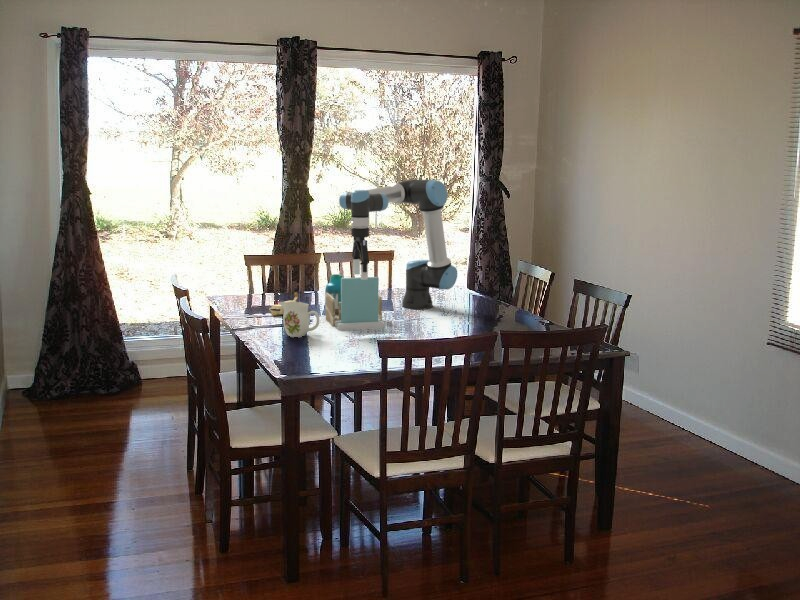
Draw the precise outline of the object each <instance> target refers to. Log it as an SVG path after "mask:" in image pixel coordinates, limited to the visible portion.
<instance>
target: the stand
mask: <svg viewBox="0 0 800 600" xmlns="http://www.w3.org/2000/svg"><path fill="white" fill-rule="evenodd" d="M334 327H335V328H337V330H338V331H349V330H351V331H352V330H353V331H354V330H369V329H370V330H371V329H385V322H384V320H382V321H381V319H378V321H376V322H355V323H341V320H339V321H335V326H334Z"/></svg>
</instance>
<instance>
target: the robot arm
mask: <svg viewBox="0 0 800 600" xmlns="http://www.w3.org/2000/svg"><path fill="white" fill-rule="evenodd" d="M447 198H448V189H447V188H446V185H445V184H444V183H443V182H442V181H440V180H435V179H417V178H415V179H407V180H403V181H398V182H394V183H392V184H390V185H389V186H387V185H386V186H382V187H381V186H380V187H377V188H371V189H365V190H364V189H354V190H352V191H345V192H342V193H341V194H340V196H339V199H338V203H339V206H340V207H341V209H344V210H350V211H351V216H350V218H351V219H350V220H349V222H351V227H350V228H351V229H350V233H351V237H352V238H353V246H352V254H351V257H352V261H353V263H352V264H353V265H352V267H353V275H355V276H356V275H360V277H361V280H368V277H369V276H368V275H369V269H368V267H369V265H368V264H370V258H369V250H368V240H366V239H365V238H367V237H369V236H370V228H369V227H370V213H372V212H382V211H386V209H387V208H388V206H389V203H390V204H392V203H394V204H409V205H418V210H419V212H420V213H422V215H423V216H422V217H423V224H424V229H425V231H424V232H425V237H426V244H427V245H426V246H427V251H428V258H429V259H421V260H420V259H419V260H411V261H408V262H407V263H406V266H405V267H406V269H405V293H404V295H403V299H402V302H401V306H402V307H403V308H405V307H406V309H411V308H414V310H425V309H424V308H426V309H431V308H432V307H433V299H432V296H431V292H430V288H432V289H439V290H446V291H447V290H450V289H452V288H453V287H454V286H455V285H456V281H457V279H458V270H457V267H455V266H453V265H452V261H451V259H450V258H448V256H447V246H446V240H445V239H446V238H445V232H444V223H443V217H442V216H443V215H442V210H443V209H444V208H445V207H444V205H445V204H446V203H447V200H448V199H447ZM430 307H431V308H430Z"/></svg>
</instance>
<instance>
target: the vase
mask: <svg viewBox="0 0 800 600" xmlns="http://www.w3.org/2000/svg"><path fill="white" fill-rule="evenodd" d="M341 278H343V275H342V274H338V273H337V274H330V281H329V282H328V283H327V284H326V285H325V292H324V305H325V307H326V293H329V294H330V295H331V296H332V297H333V298H334V299H335V315H339V302H341Z"/></svg>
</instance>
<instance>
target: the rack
mask: <svg viewBox="0 0 800 600" xmlns="http://www.w3.org/2000/svg"><path fill="white" fill-rule="evenodd" d="M378 319H381V321H383V297H382V295H379V294H378ZM325 321H326V322H328V323H329V324H330V325H331V326H332V327H335V321H339V316H336V314H335V299H334V298H333V297H332V296H331V295H330V294H329V293H326V306H325Z"/></svg>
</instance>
